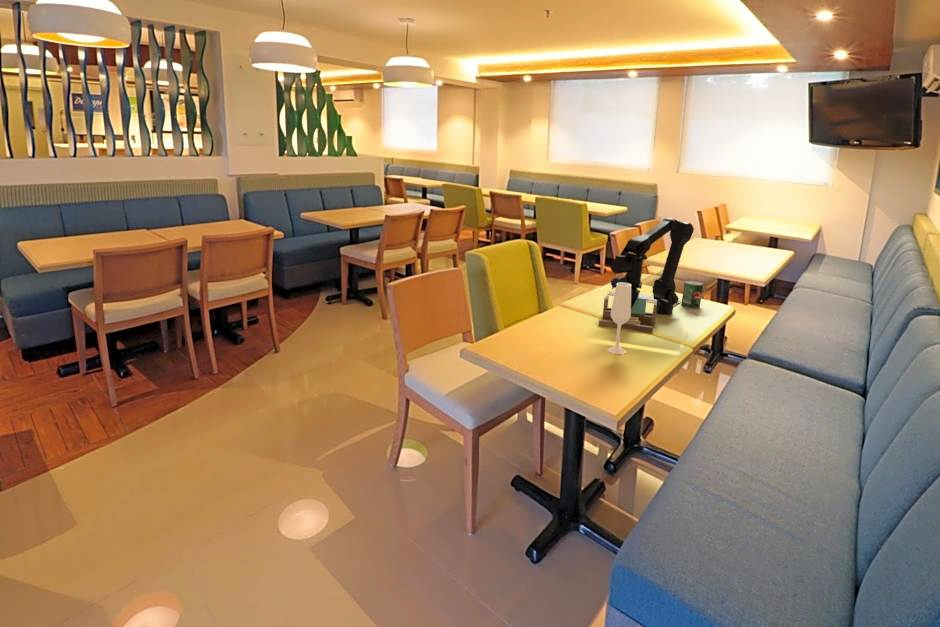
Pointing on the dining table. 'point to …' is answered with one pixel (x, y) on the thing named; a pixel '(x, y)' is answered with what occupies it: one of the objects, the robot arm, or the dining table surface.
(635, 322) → the upper offcut
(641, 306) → the teal sheet
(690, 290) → the canned tomato
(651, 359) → the dining table surface
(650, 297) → the baseboard molding
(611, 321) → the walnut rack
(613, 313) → the champagne flute
